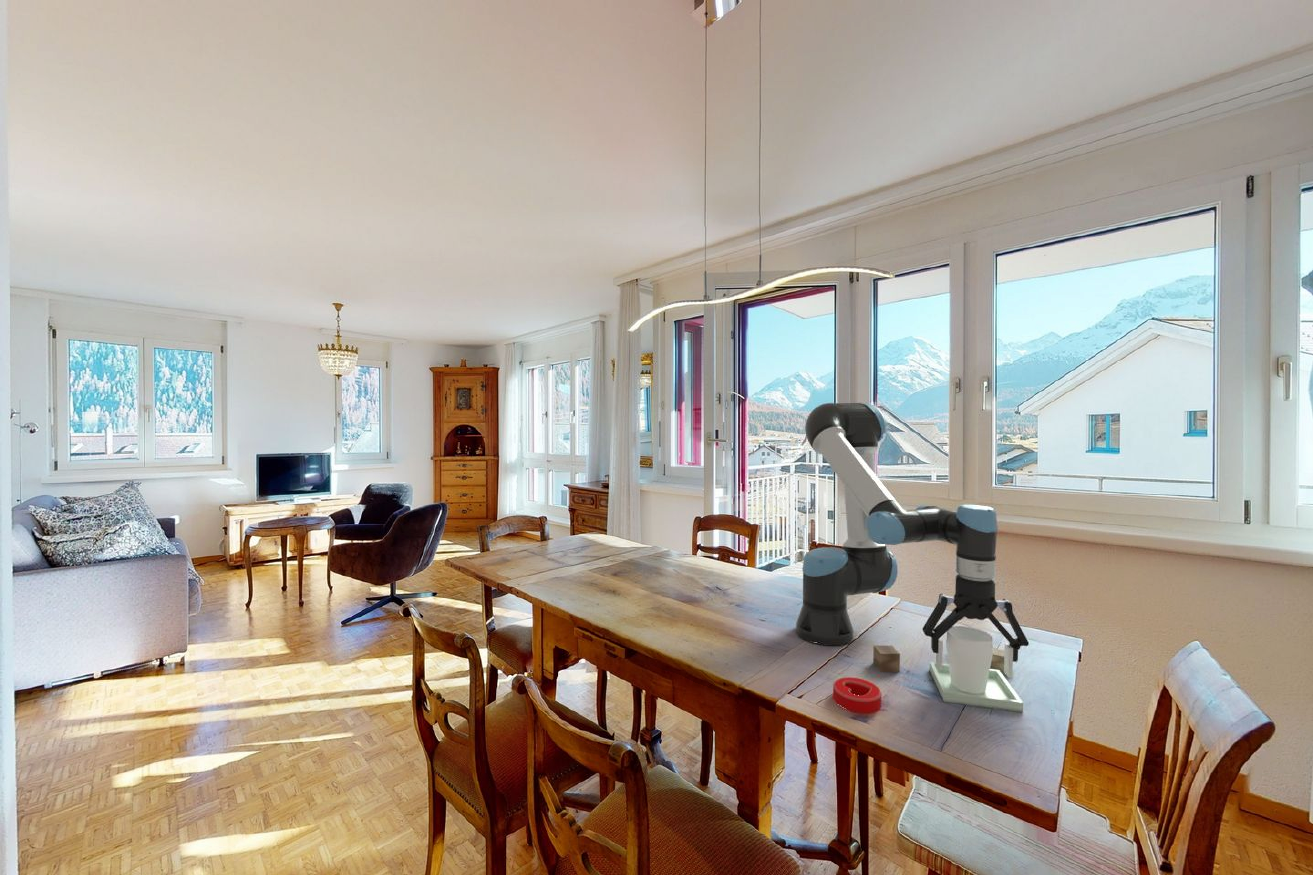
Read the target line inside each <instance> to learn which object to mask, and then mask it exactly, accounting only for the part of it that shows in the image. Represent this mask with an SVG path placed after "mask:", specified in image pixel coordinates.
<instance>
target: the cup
mask: <svg viewBox="0 0 1313 875" xmlns="http://www.w3.org/2000/svg"><path fill="white" fill-rule="evenodd" d="M945 645H946V653H947V655H946V656H947V660H948V663H947V664H949V671H950V678H951V684H952V685H953V686H954V687H955V688H956V689H958V690H960V691H962V692H966V693H970V694H982V693H984V692H985V691H986V686H987V681H988V676H989V671H990V666H991V661H992V656H993V648H994V643H993V635H991V634H990V633H988V632H986V631H984V630H982V629H979V628H975V627H971V626H965V625H964V626H963V625H953V626H952V627H951V628H950V629H949V630H948V631H947V632H946V640H945Z"/></svg>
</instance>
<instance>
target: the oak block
mask: <svg viewBox="0 0 1313 875" xmlns="http://www.w3.org/2000/svg"><path fill="white" fill-rule="evenodd" d="M1004 655H1005V649H1004V650H1003V649H999V648H996V647H995V648H994V647H993V656H992V661H991V666H990V669H995V670H1000V672H1001V673H1002V674H1005V673H1004Z"/></svg>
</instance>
